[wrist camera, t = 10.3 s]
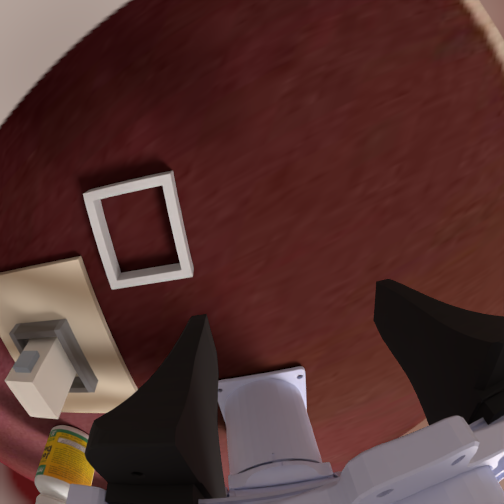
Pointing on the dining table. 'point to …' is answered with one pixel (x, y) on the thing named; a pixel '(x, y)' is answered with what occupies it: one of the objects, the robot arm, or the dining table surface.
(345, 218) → the dining table surface
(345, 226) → the dining table surface
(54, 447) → the supplement bottle
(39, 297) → the port board
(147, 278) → the white picture frame
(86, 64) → the dining table surface
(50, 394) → the plug
